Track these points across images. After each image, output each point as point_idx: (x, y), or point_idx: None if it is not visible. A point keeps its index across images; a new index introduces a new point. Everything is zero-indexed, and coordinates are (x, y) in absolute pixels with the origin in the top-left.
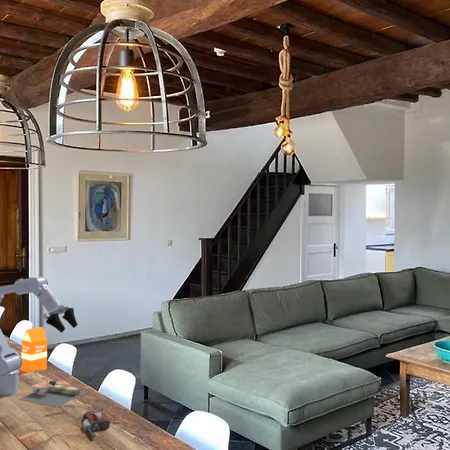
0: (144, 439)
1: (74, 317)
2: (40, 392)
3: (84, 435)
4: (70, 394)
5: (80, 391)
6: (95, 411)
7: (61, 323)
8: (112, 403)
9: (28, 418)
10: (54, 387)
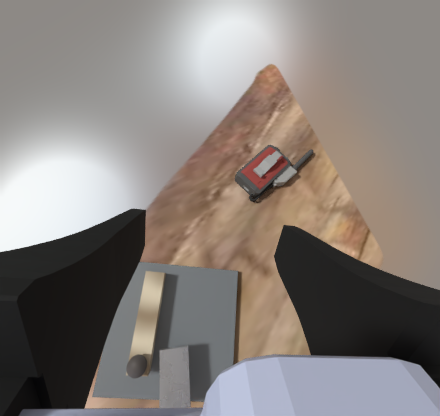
0: (279, 99)
1: (97, 229)
2: None
3: (304, 170)
4: (163, 287)
5: (131, 280)
6: (259, 171)
7: (320, 245)
8: (170, 187)
9: None
10: (152, 346)
